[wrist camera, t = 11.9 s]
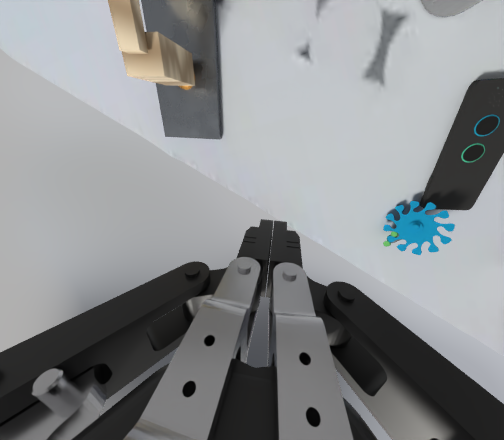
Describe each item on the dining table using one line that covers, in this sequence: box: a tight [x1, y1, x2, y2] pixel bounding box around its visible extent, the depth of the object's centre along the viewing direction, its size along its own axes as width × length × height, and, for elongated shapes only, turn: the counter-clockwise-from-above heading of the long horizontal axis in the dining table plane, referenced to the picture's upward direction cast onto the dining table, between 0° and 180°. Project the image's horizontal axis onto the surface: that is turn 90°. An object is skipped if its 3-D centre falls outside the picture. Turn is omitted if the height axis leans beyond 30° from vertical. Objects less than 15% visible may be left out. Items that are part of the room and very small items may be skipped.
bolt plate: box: [141, 0, 221, 139], centre depth 26 cm, size 27×11×12 cm, turn 178°
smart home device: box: [420, 79, 504, 210], centre depth 32 cm, size 8×2×20 cm
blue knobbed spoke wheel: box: [383, 201, 455, 255], centre depth 37 cm, size 11×6×10 cm
